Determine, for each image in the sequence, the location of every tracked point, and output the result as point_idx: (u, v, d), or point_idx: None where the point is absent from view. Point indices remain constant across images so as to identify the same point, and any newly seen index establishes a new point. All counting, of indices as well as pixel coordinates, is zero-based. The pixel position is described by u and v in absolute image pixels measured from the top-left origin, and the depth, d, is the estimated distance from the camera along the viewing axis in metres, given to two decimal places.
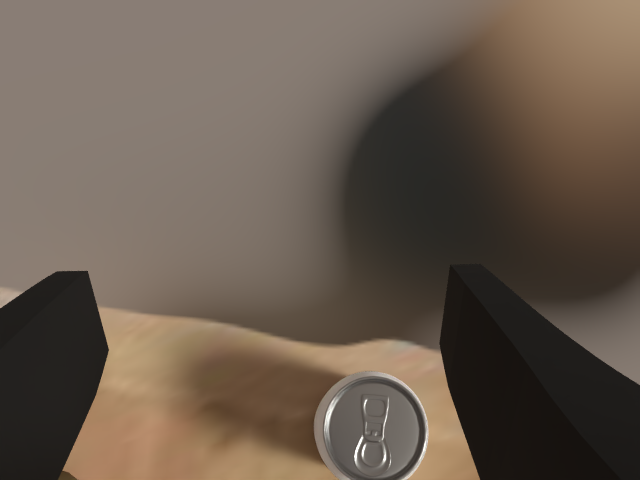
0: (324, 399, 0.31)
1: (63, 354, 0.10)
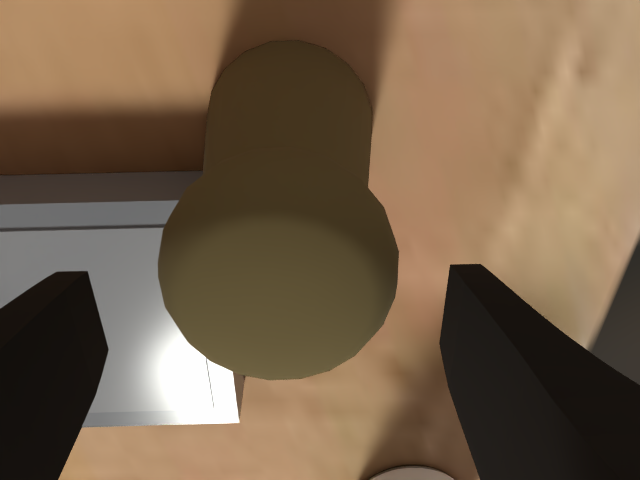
0: None
1: (63, 354, 0.10)
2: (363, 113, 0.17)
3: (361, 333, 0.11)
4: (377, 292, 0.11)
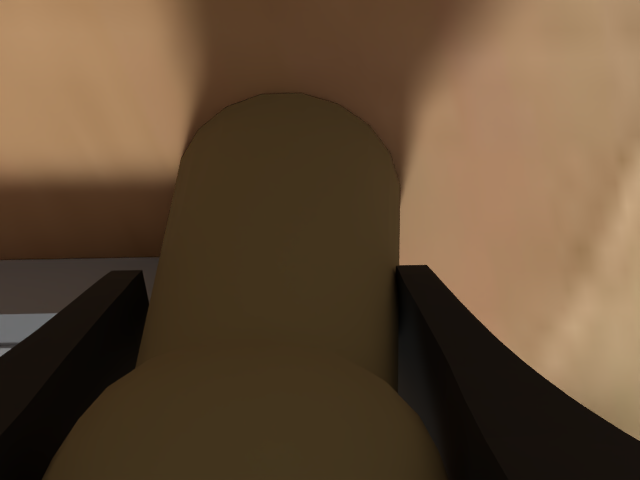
0: None
1: (123, 353, 0.10)
2: (390, 203, 0.12)
3: None
4: None
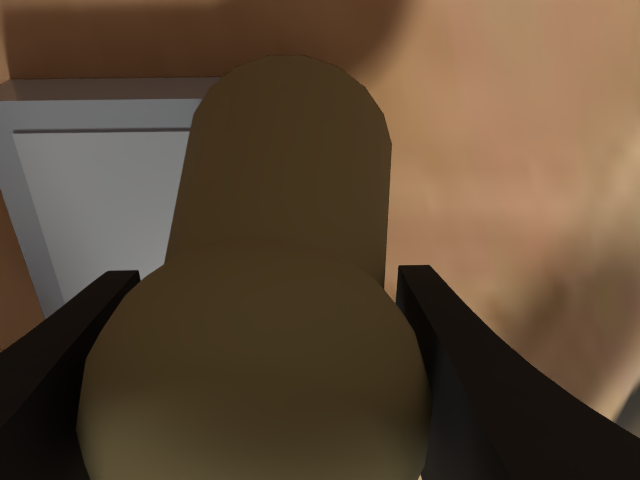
0: None
1: None
2: (382, 155, 0.14)
3: None
4: (402, 477, 0.07)
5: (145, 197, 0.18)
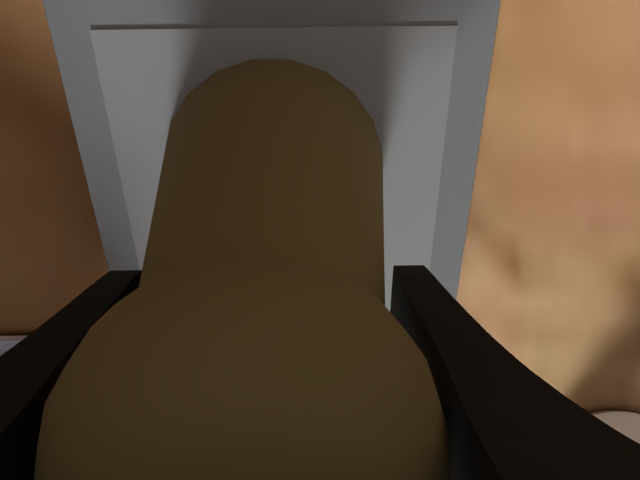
0: None
1: None
2: (375, 163, 0.13)
3: None
4: None
5: None
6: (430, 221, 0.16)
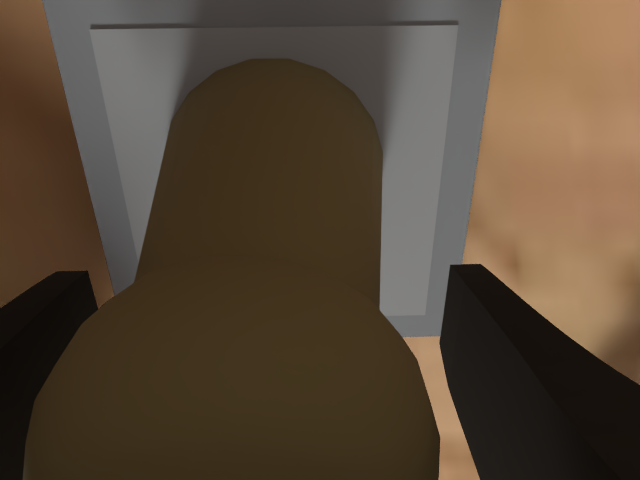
0: None
1: None
2: (374, 163, 0.13)
3: None
4: None
5: None
6: (431, 221, 0.16)
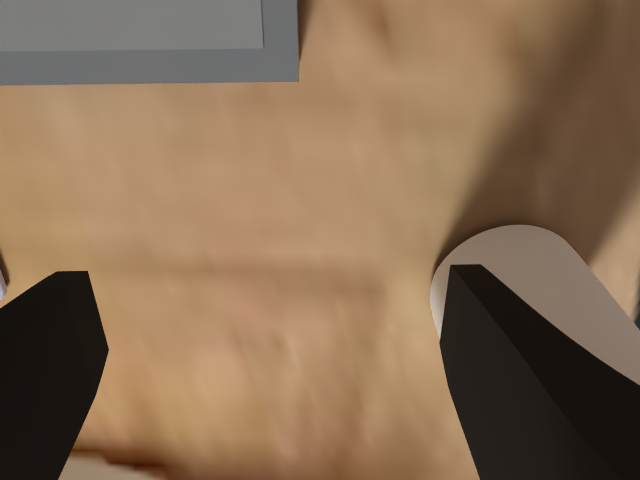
0: None
1: (63, 354, 0.10)
2: None
3: None
4: None
5: None
6: None
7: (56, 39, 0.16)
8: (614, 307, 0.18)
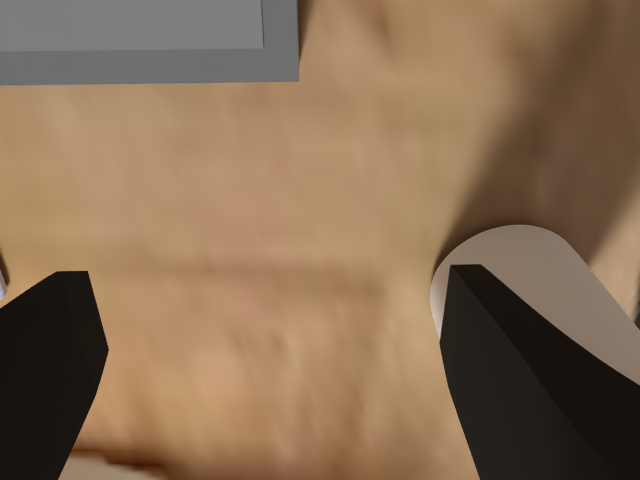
0: None
1: (63, 354, 0.10)
2: None
3: None
4: None
5: None
6: None
7: (56, 39, 0.16)
8: (614, 307, 0.18)
